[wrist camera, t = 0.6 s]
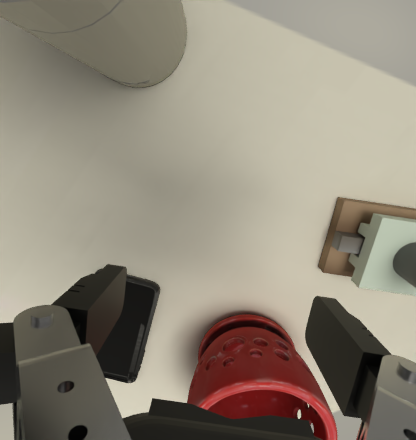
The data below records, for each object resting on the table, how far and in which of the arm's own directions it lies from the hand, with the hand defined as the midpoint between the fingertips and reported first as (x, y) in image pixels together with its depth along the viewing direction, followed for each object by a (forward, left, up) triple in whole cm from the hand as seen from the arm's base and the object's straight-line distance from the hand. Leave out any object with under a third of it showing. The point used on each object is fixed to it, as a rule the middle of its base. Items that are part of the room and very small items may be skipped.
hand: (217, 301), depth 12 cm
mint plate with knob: (+2, +18, -16) cm, 25 cm away
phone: (+18, -10, -19) cm, 27 cm away
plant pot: (+18, +6, -19) cm, 26 cm away
